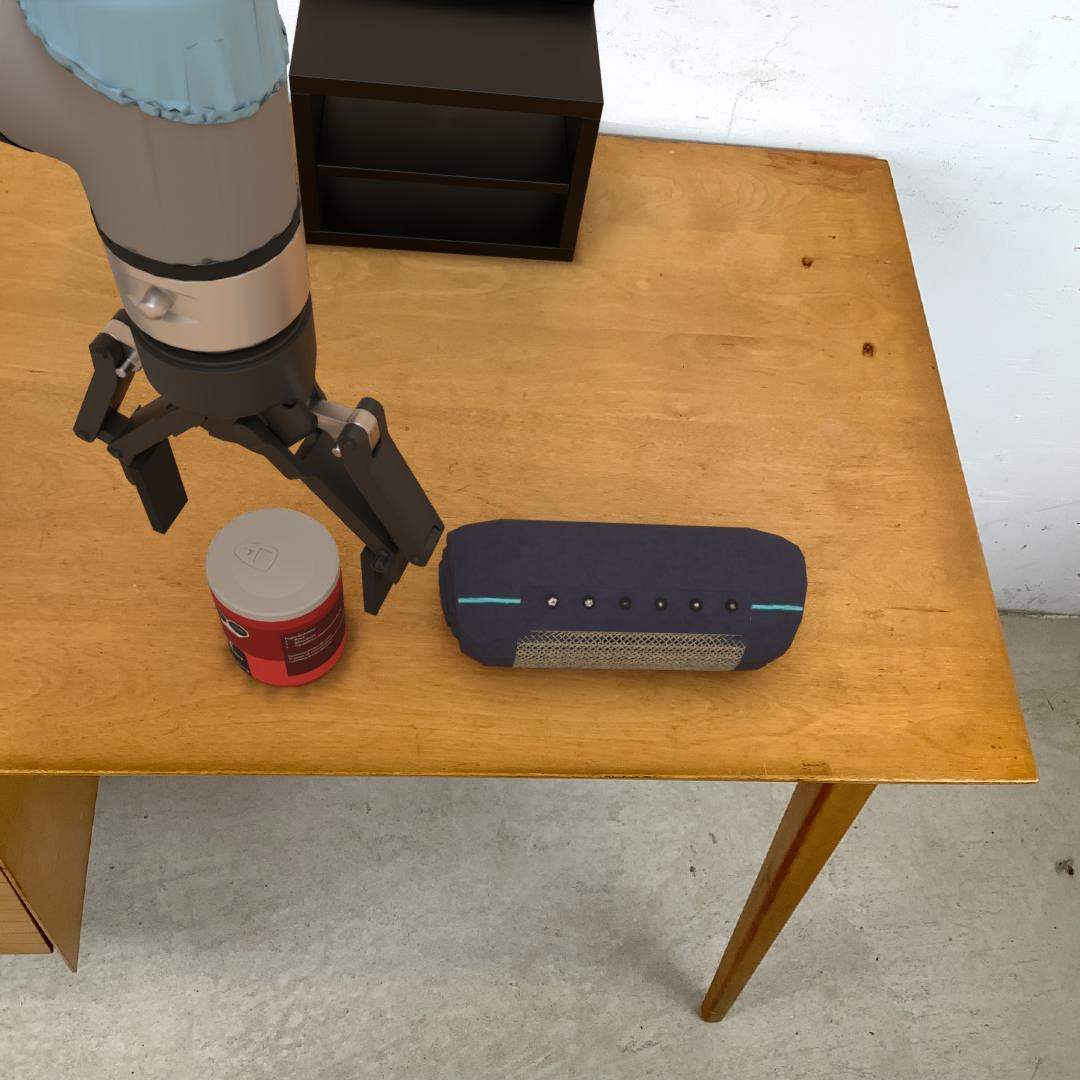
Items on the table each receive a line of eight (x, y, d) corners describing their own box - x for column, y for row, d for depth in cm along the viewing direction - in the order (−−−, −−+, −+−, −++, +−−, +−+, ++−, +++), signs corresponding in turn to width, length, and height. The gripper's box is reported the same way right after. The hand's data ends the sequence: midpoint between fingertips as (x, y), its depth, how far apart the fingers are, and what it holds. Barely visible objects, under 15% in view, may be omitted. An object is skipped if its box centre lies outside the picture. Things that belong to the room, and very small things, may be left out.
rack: (572, 262, 93) (608, 79, 77) (304, 243, 90) (285, 49, 74) (565, 160, 100) (597, -25, 84) (317, 140, 97) (302, -56, 81)
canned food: (240, 585, 72) (217, 500, 62) (354, 595, 72) (348, 512, 63) (218, 686, 68) (190, 610, 58) (339, 695, 68) (331, 622, 59)
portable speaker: (434, 690, 69) (439, 625, 61) (436, 563, 74) (441, 487, 66) (786, 694, 72) (838, 633, 64) (765, 573, 77) (811, 501, 69)
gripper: (-107, 254, 41) (49, 530, 59) (462, 463, 39) (444, 684, 57) (7, 148, 45) (121, 437, 63) (530, 332, 43) (493, 577, 61)
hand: (274, 555), depth 60 cm, fingers open, 13 cm apart
